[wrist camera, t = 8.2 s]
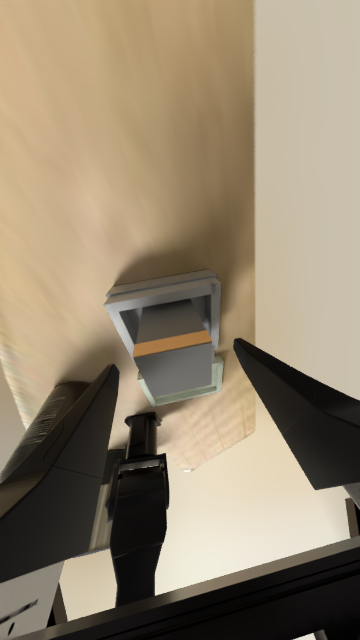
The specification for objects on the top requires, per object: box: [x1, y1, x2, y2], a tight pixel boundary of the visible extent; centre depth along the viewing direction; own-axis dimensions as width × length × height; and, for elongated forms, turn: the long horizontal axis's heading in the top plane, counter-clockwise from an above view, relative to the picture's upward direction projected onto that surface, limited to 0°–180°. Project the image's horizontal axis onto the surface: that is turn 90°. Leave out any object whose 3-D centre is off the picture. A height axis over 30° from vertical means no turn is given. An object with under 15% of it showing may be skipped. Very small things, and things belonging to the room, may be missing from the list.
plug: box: [133, 299, 212, 398], centre depth 11 cm, size 5×5×6 cm
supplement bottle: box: [0, 382, 91, 483], centre depth 16 cm, size 7×7×12 cm
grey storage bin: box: [104, 269, 221, 366], centre depth 15 cm, size 12×10×4 cm
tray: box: [137, 355, 223, 407], centre depth 23 cm, size 9×13×1 cm
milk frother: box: [73, 445, 139, 558], centre depth 33 cm, size 14×16×15 cm
